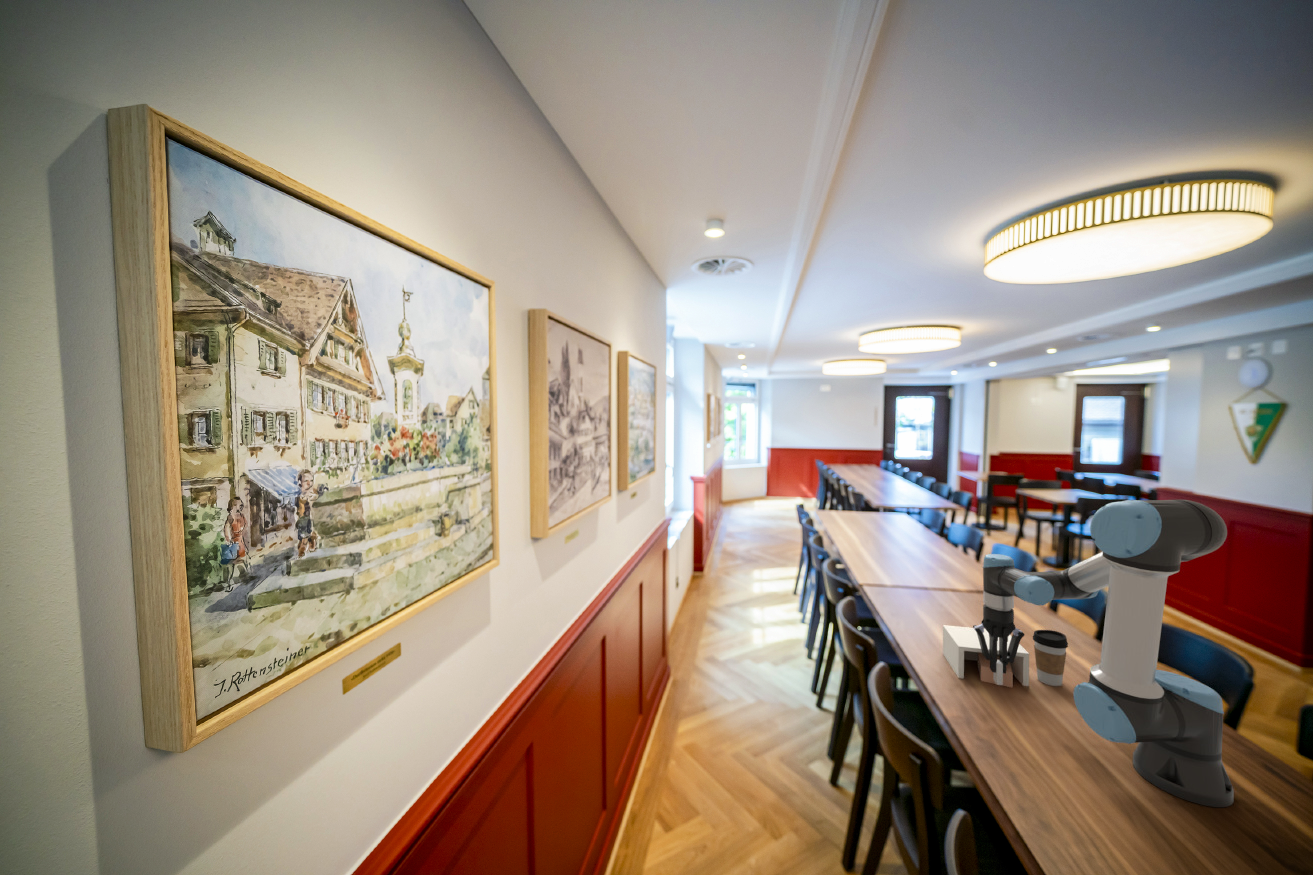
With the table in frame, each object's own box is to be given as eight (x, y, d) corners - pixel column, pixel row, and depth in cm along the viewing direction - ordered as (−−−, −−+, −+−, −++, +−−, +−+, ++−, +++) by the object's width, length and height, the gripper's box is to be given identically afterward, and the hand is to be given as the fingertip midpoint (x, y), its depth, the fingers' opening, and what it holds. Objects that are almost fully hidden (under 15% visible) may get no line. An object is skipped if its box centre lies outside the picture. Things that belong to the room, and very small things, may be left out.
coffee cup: (1074, 689, 141) (1074, 640, 140) (1042, 687, 143) (1042, 638, 142) (1056, 674, 149) (1057, 628, 149) (1026, 672, 151) (1026, 626, 150)
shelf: (1028, 686, 143) (1029, 653, 143) (958, 677, 148) (958, 646, 148) (1005, 660, 158) (1006, 630, 158) (942, 653, 164) (942, 624, 163)
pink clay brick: (1012, 688, 143) (1012, 672, 142) (980, 681, 147) (981, 665, 146) (1007, 672, 151) (1007, 657, 151) (977, 666, 155) (977, 651, 155)
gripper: (1017, 603, 143) (1017, 678, 144) (969, 599, 147) (969, 673, 148) (1029, 613, 136) (1029, 692, 137) (978, 608, 140) (978, 686, 141)
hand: (998, 682), depth 142 cm, fingers closed
